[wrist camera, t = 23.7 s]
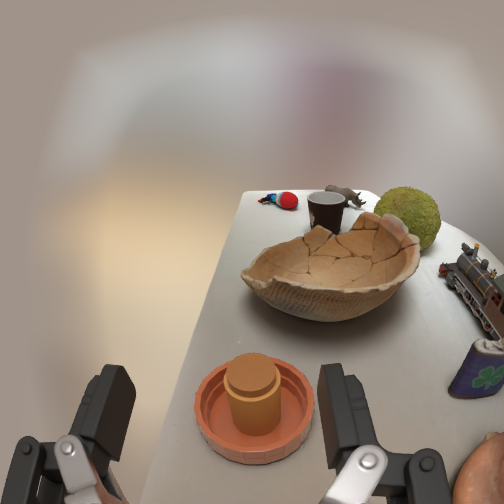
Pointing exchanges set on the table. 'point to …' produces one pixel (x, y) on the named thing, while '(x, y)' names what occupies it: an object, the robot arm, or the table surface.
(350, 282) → the ceramic bowl
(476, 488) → the ceramic jug
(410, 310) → the table surface
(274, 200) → the toy figure
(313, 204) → the coffee mug
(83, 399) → the robot arm
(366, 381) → the table surface
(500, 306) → the toy train
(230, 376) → the orange lidded canister
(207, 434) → the terracotta bowl
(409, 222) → the fruit
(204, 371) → the table surface
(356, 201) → the rhino figurine
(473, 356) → the flask
